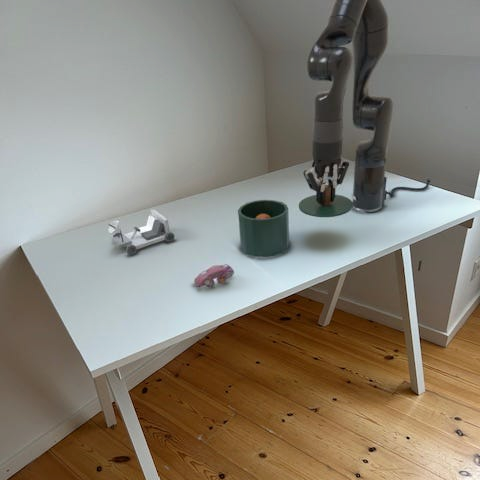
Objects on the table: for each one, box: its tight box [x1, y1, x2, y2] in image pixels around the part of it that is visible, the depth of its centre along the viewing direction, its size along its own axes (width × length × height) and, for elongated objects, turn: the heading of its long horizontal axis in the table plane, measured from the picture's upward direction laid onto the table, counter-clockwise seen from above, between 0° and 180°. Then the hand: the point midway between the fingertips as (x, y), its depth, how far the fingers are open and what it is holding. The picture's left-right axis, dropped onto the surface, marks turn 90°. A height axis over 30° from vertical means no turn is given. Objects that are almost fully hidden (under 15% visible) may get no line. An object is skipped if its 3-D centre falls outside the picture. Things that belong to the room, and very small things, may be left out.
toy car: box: [108, 208, 175, 256], centre depth 145 cm, size 18×10×12 cm
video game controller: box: [193, 263, 235, 289], centre depth 123 cm, size 10×5×7 cm, turn 118°
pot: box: [237, 199, 290, 258], centre depth 136 cm, size 14×14×12 cm
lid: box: [298, 184, 354, 218], centre depth 131 cm, size 15×15×6 cm
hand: (325, 202), depth 132 cm, fingers closed on lid, 2 cm apart
